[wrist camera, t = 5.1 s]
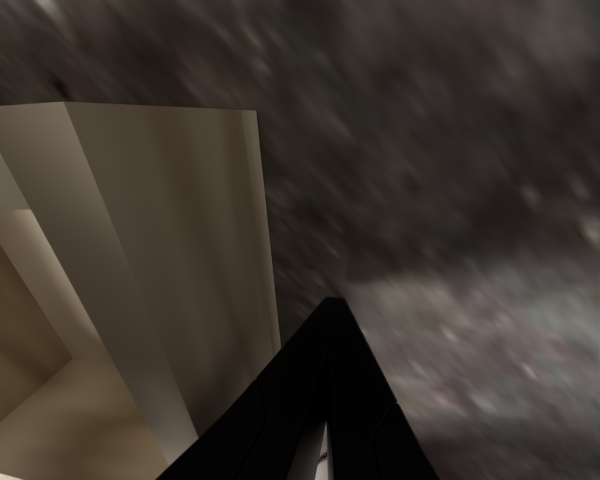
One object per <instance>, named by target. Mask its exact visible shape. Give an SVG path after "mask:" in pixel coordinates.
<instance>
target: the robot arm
mask: <svg viewBox="0 0 600 480" xmlns="http://www.w3.org/2000/svg"><path fill="white" fill-rule="evenodd" d="M256 379H257V380H253V381H252V383H251V384H250V385H249V386H248V387H247V388H246V390H245V391H244V392H243V393H242V394H241V395H240V396H239V397H238V398H237V400H236V401H235V402H234V403H233V404H232V405H231V406H230V407H229V408H228V409H227V411H226V412H225V413H224V414H223V415H222V416H221V417H220V418H219V419H218V420H217V421H216V422H215V423H214V424H212V425H211V426H210V427H209V428H208V429H207V430H206V431H205V432H204V433H203V434H202V435H201V436H200V437H199V438H198V439H197V440H196V441H195V442H194V443H193V444H192V445H191V446H190V447H189V448H188V449H187V450H185V451H184V452H183V453H182V454H181V455H180V456H179V457H178V458H177V459H176V460H175V461H174V462H173V463H172V464H171V465H170V466H169V467H168V468H167V469H165V470H164V471H163V472H162V473H161V474H160V475H159V476H158V477H157V478H156V479H155V480H315V477H316V472H317V467H318V461H319V456H320V451H321V446H322V441H323V436H324V430H325V425H326V422H327V465H328V480H441V479H440V477H439V475H438V474H437V472H436V470H435V469H434V467H433V465H432V464H431V462H430V460H429V459H428V457H427V455H426V454H425V452H424V450H423V448H422V447H421V445H420V443H419V441H418V439H417V437H416V436H415V434H414V432H413V430H412V428H411V426H410V425H409V423H408V421H407V419H406V417H405V415H404V413H403V411H402V409H401V407H400V405H399V404H397V400H396V398H395V396H394V394H393V392H392V390H391V388H390V386H389V384H388V382H387V380H386V378H385V376H384V374H383V372H382V370H381V368H380V366H379V364H378V362H377V360H376V358H375V356H374V354H373V352H372V350H371V348H370V347H369V345H368V343H367V341H366V339H365V337H364V335H363V333H362V331H361V329H360V327H359V325H358V323H357V321H356V319H355V317H354V315H353V313H352V311H351V309H350V307H349V305H348V303H347V301H346V300H345V299H344V298H339V297H325V298H324V299H323V300H322V302H321V303H320V304H319V305H318V306H317V307H316V309H315V310H314V311H313V312H312V313H311V314H310V316H309V317H308V318H307V319H306V320H305V321H304V322H303V324H302V325H301V326H300V327H299V328H298V329H297V331H296V332H295V333H294V334H293V335H292V336H291V338H290V339H289V340H288V341H287V342H286V343H285V345H284V346H283V347H282V348H281V349H280V350H279V351H278V353H277V354H276V355H275V356H274V357H273V358H272V360H271V361H270V362H269V363H268V364H267V365H266V367H265V368H264V369H263V370H262V371H261V372H260V373H259V375H258V376H257V377H256Z"/></svg>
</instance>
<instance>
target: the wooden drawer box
mask: <svg viewBox="0 0 600 480" xmlns="http://www.w3.org/2000/svg"><path fill="white" fill-rule="evenodd" d="M280 349H281V342H280V333H279V323H278V314H277V304H276V295H275V285H274V276H273V266H272V257H271V247H270V238H269V228H268V219H267V209H266V200H265V190H264V181H263V171H262V162H261V152H260V143H259V133H258V124H257V114H256V111H255V110H233V109H212V108H191V107H169V106H148V105H127V104H105V103H84V102H49V103H35V104H20V105H6V106H0V480H155V479H156V478H157V477H158V476H159V475H160V474H161V473H162V472H163V471H164V470H165V469H167V468H168V467H169V466H170V465H171V464H172V463H173V462H174V461H175V460H176V459H177V458H178V457H179V456H180V455H181V454H182V453H183V452H184V451H185V450H187V449H188V448H189V447H190V446H191V445H192V444H193V443H194V442H195V441H196V440H197V439H198V438H199V437H200V436H201V435H202V434H203V433H204V432H205V431H206V430H207V429H208V428H209V427H210V426H211V425H212V424H214V423H215V422H216V421H217V420H218V419H219V418H220V417H221V416H222V415H223V414H224V413H225V412H226V411H227V409H228V408H229V407H230V406H231V405H232V404H233V403H234V402H235V401H236V400H237V398H238V397H239V396H240V395H241V394H242V393H243V392H244V391H245V390H246V388H247V387H248V386H249V385H250V384H251V383H252V381H253V380H257V379H256V377H257V376H258V375H259V373H260V372H261V371H262V370H263V369H264V368H265V367H266V365H267V364H268V363H269V362H270V361H271V360H272V358H273V357H274V356H275V355H276V354H277V353H278V351H279V350H280Z"/></svg>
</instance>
